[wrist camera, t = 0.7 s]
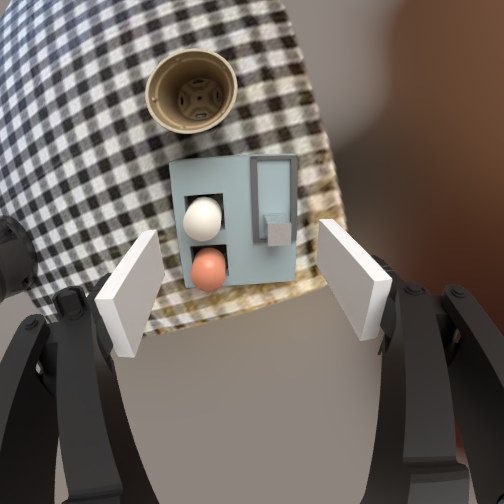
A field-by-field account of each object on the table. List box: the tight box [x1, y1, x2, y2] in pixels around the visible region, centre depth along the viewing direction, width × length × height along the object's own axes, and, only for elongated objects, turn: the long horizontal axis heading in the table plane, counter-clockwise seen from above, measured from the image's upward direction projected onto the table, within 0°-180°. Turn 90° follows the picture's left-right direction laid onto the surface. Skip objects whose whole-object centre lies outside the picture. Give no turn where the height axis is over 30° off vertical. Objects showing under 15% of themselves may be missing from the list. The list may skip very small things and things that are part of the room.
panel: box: [169, 154, 297, 288], centre depth 37 cm, size 16×18×3 cm
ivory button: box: [183, 197, 222, 241], centre depth 33 cm, size 4×4×4 cm
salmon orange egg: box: [190, 248, 226, 291], centre depth 36 cm, size 4×4×4 cm
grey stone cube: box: [264, 213, 291, 246], centre depth 35 cm, size 3×3×4 cm
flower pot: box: [145, 49, 237, 134], centre depth 27 cm, size 9×9×9 cm
